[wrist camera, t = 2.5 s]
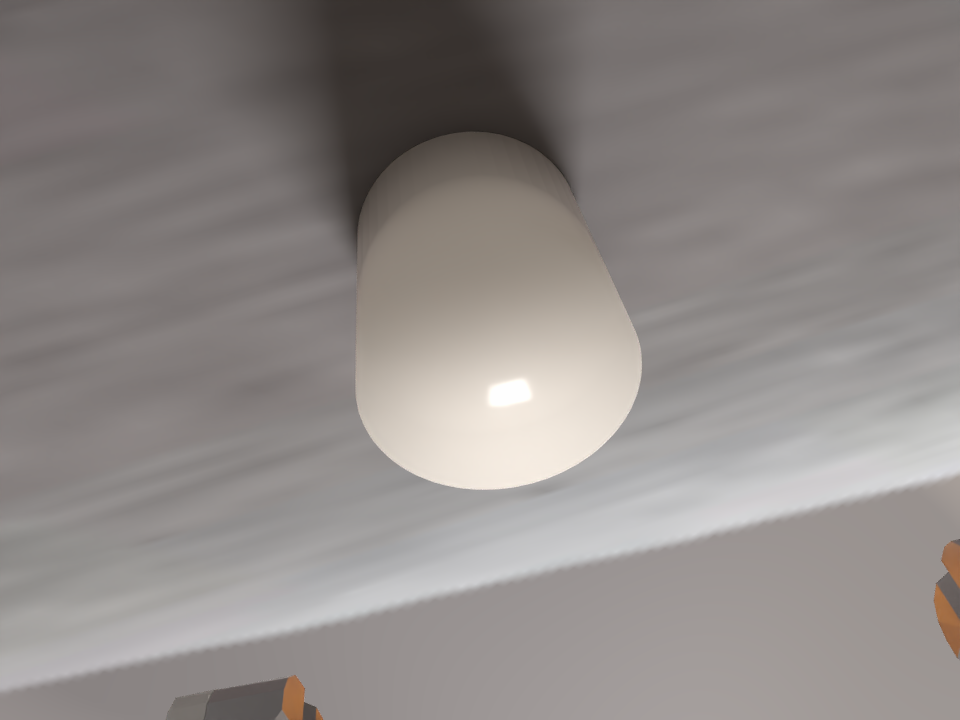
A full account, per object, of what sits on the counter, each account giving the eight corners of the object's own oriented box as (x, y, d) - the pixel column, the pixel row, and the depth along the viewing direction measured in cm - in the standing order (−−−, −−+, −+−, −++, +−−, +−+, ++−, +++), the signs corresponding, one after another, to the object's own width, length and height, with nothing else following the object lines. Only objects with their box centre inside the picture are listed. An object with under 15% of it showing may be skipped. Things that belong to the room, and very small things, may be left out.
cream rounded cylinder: (320, 280, 19) (307, 439, 15) (423, 88, 17) (445, 211, 12) (505, 358, 21) (541, 518, 17) (622, 195, 18) (699, 333, 14)
